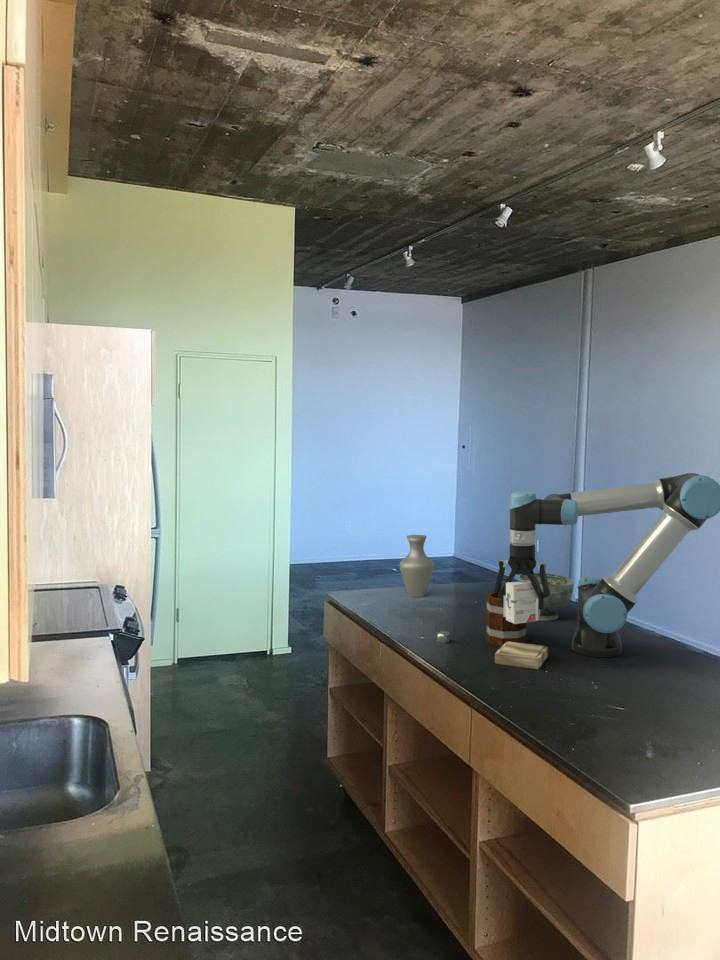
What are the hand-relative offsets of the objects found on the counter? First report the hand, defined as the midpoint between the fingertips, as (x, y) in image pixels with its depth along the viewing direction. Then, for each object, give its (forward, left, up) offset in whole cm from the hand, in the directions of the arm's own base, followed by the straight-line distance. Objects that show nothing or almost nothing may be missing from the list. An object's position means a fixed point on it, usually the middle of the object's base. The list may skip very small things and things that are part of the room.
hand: (521, 617), depth 225 cm
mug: (-21, -10, -13) cm, 27 cm away
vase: (-65, -60, -13) cm, 89 cm away
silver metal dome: (-8, -28, -13) cm, 32 cm away
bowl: (-52, -4, -13) cm, 54 cm away
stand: (0, 0, -13) cm, 13 cm away
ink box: (0, 0, -1) cm, 1 cm away
